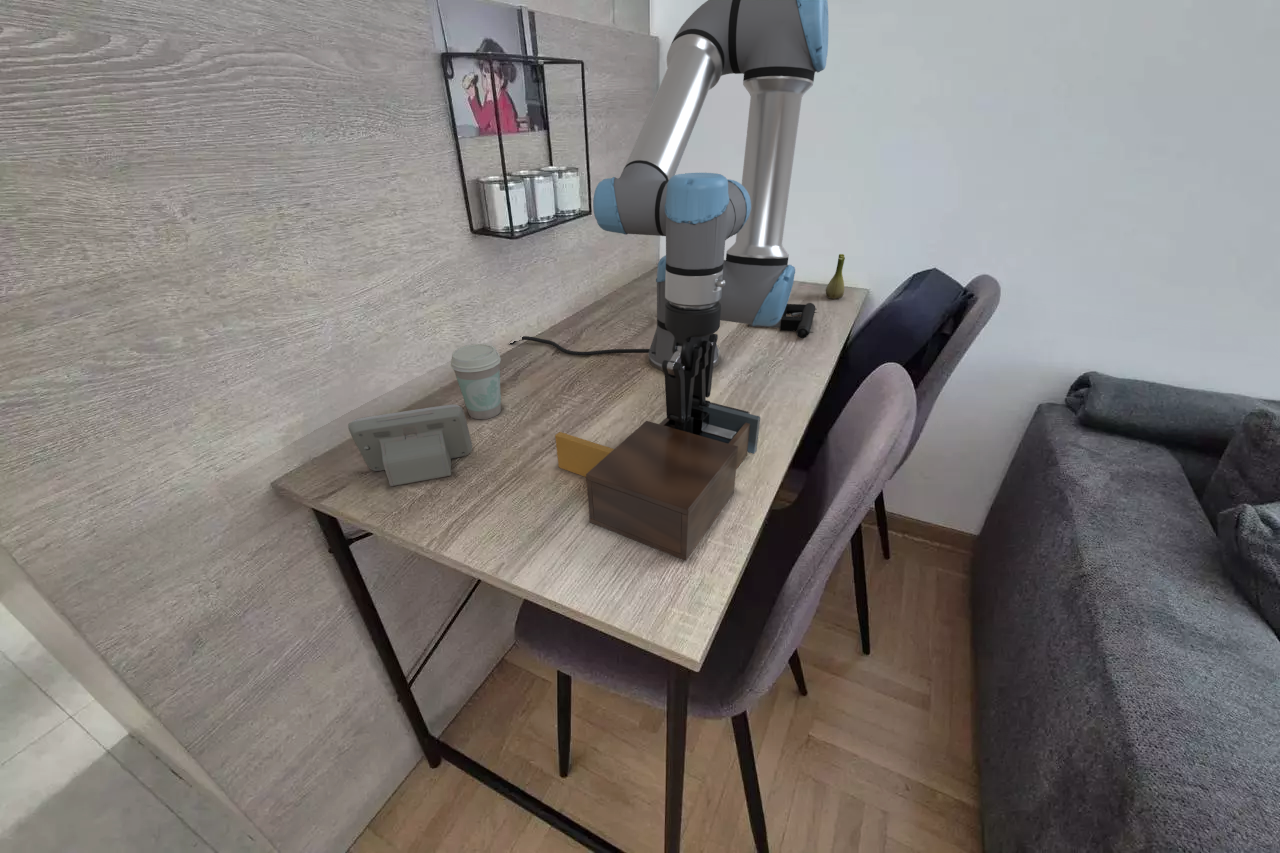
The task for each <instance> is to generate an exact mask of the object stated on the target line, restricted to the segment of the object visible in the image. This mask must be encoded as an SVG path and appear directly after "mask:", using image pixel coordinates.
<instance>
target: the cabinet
mask: <svg viewBox="0 0 1280 853" xmlns="http://www.w3.org/2000/svg"><path fill="white" fill-rule="evenodd" d="M613 449H614V450H613V451H612V452H610V453H609V454H608V455H607V456H606V457H605V458H604V459H603V460H601V461H600V462H599V463H598V464H597V465H596V466H595V467H594V468H592V469H591V470H590V471H589V472H588V473H587V474H586V477H585V479H586V480H585V481H586V493H587V505H588V515H589V517H588V518H589V523H590V524H593V525H595V526H598V527H600V528H603V529H606V530H608V531H611V532H613V533H615V534H618V535H621V536H622V537H626V538H628V539H630V540H633V541H636V542H638V543H641V544H643V545H646V546H648V547H649V548H650V547H651V548H653V549H655V550H658V551H660V552H663V553H666V554H668V555H670V556H672V557H675V558H677V559H681V560H683V561H688V559H689V558H690V556H691V554H692V553H693V552H694V551H695V549H696V548H697V546H698V545H699V543H700V542H701V541H702V539H703V538H704V537H705V534H706V533H707V532H708V531H709V529H710V528H711V526H712V525H713V523H714V522H715V520H716V519H717V518H718V516H719V515H720V514H721V512H722V511H723V509H725V506H726V505H727V503H728V502H729V501H730V499H731V498H732V497H733V495H734V494H735V486H736V474H737V469H736V465H737V454H738V446H735V445H731V444H728V443H724V442H720V441H717V440H713V439H710V438H706V437H703V436H699V435H696V434H692V433H689V432H685V431H682V430H678V429H674V428H671V427H667V426H664V425H660V423H656V422H654V421H649V420H645V421H644V422H643V423H642V424H640V426H638V427H637V428H636V429H635V430H634V431H633V432H632V433H631V434H629V435H628V436H627V437H626V438H625V439H624V440H622V441H621V442H620V443H619V444H618V445H617V446H616V447H615V448H613Z"/></svg>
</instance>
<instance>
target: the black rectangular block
mask: <svg viewBox="0 0 1280 853" xmlns="http://www.w3.org/2000/svg"><path fill="white" fill-rule="evenodd" d="M691 417H693V418H694V419H693V431H696V432H700V433H706V434H709V435H713V436H717V437H720V438H724V439H727V440H731V439H732V438H733V437H734V436H735V434H736V432H735V431H731V430H727V429H724V428H720V427H716V426H713V425H709V413H708V412H704V411H700V410H697V409H693V408H691ZM669 424H671V425H675V421H674V420H670V419H669Z"/></svg>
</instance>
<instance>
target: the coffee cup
mask: <svg viewBox="0 0 1280 853" xmlns="http://www.w3.org/2000/svg"><path fill="white" fill-rule="evenodd" d="M501 361H502V358H501V356H500V354H499V352H498V351H497V348H496V347H495V346H493V345H491V344H487V343H473V344H467V345H463V346H460V347H458V348H456V349H454V350H453V352H452V353H451V359H450V367H451V369H452V370H453V372H454V374H455V377H456V381H457V384H458V386H459V390H460V392H461V395H462V398H463V402H464V405H465V407H466V410H467V412H468V416H469V417H471V418H472V419H475V420H488V419H491V418H495V417H496V416H498V415H499V414H500V413H501V411H502V401H501V400H502V398H501V394H502V393H501V373H500V372H501V371H500V369H501V368H500V363H501Z"/></svg>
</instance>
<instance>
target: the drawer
mask: <svg viewBox="0 0 1280 853" xmlns="http://www.w3.org/2000/svg"><path fill="white" fill-rule="evenodd" d="M702 408H703V411H704V412H708V413H709V425H713V426H716V427H720V428H724V429H727V430H731V431H735V432H736V434H735V436H734V437H733V438H732V439H731V440H727V439H724V438H720V437H717V436H713V435H709V434H706V433H702V436H703V437H706V438H710V439H713V440H717V441H720V442H724V443H728V444H731V445H735V446H738V454H737V465H736V470H738V468H739V467H740V465H741V464H742V463H743V461H744V460H745V459H746V458H747V456H748V453H750V454H752V455H754V454H755V453H756V452H757V451H758V443H759V432H760V425H761V423H760V422H761V416H760V415H756V414H752V413H750V411H747V410H743V409H739V408H734V407H731V406H729V405H728V406H727V405H723V404H720V403H715V402H712V401H710V405H709V407H704V406H702ZM659 424H660V425H664V426H667V427H671V428H674V429H675V425H671V424H669V419H667V416H666V417H665V418H663V420H662V421H661V422H660V423H659Z"/></svg>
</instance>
